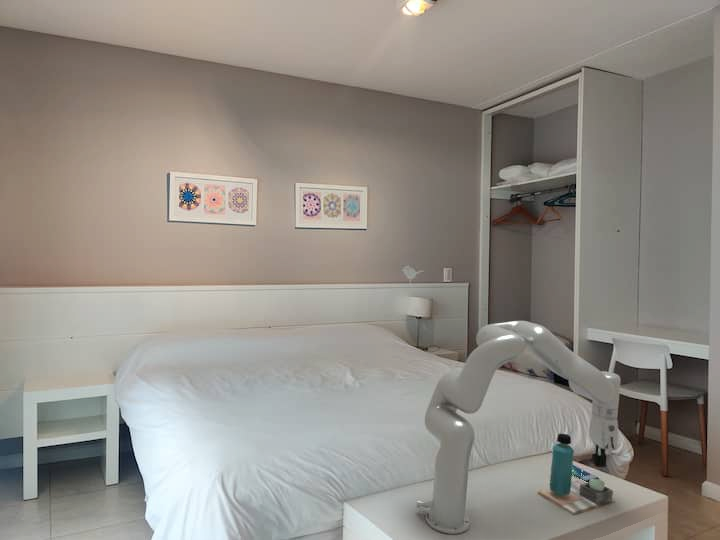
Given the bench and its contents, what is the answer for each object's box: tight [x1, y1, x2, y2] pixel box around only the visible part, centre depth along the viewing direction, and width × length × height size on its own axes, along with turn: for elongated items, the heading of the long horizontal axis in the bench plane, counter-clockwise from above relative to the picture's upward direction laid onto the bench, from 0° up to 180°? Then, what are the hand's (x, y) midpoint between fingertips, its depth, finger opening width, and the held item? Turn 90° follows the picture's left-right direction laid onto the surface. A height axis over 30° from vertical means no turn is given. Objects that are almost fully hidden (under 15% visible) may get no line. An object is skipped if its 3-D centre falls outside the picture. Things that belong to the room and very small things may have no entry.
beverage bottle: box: [548, 433, 575, 495], centre depth 167 cm, size 6×7×20 cm
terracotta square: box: [538, 487, 581, 506], centre depth 167 cm, size 9×9×1 cm
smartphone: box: [572, 464, 600, 483], centre depth 187 cm, size 7×1×15 cm
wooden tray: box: [537, 480, 616, 516], centre depth 168 cm, size 20×14×4 cm
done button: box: [589, 478, 605, 493], centre depth 167 cm, size 4×4×3 cm
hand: (599, 465), depth 167 cm, fingers closed
